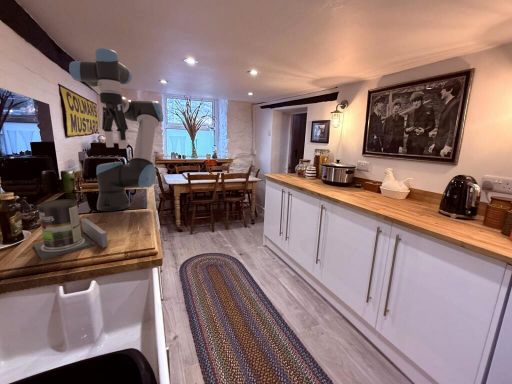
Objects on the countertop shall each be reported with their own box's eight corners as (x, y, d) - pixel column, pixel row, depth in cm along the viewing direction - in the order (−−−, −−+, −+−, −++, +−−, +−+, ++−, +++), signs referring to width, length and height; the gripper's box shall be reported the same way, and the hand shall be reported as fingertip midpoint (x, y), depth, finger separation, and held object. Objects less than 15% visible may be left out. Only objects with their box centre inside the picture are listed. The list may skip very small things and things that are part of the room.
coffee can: (57, 252, 78) (50, 208, 75) (36, 246, 81) (29, 205, 78) (89, 239, 87) (84, 200, 84) (69, 235, 91) (63, 197, 88)
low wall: (82, 230, 98) (81, 218, 97) (87, 229, 99) (85, 217, 98) (102, 247, 84) (101, 233, 82) (107, 246, 85) (106, 232, 84)
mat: (33, 246, 84) (33, 243, 84) (82, 234, 94) (81, 232, 94) (41, 259, 75) (41, 257, 75) (94, 245, 85) (94, 242, 85)
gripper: (89, 94, 104) (95, 146, 108) (112, 88, 88) (118, 149, 92) (109, 97, 109) (114, 146, 114) (134, 91, 93) (139, 149, 98)
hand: (116, 147), depth 103 cm, fingers open, 13 cm apart
